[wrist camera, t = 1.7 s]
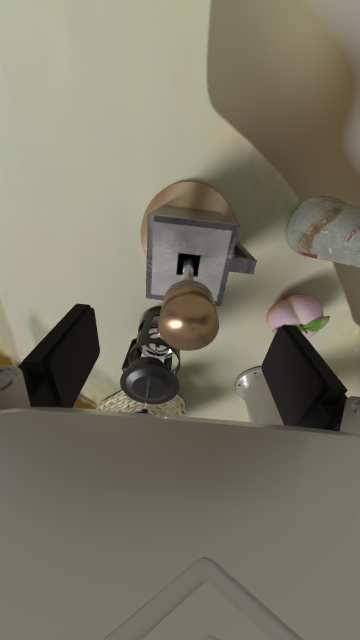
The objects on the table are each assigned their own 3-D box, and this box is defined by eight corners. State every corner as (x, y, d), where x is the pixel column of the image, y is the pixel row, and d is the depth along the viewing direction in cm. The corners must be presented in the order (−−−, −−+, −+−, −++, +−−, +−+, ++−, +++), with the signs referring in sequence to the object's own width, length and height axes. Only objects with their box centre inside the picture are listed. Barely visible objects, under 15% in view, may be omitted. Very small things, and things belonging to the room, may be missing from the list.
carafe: (240, 214, 33) (273, 229, 20) (228, 269, 38) (248, 309, 25) (163, 205, 33) (147, 214, 20) (160, 261, 37) (146, 298, 25)
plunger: (215, 226, 27) (257, 282, 11) (207, 273, 30) (229, 370, 14) (166, 221, 27) (133, 268, 11) (163, 269, 30) (135, 361, 14)
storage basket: (157, 367, 53) (148, 422, 40) (192, 401, 60) (194, 458, 47) (94, 400, 61) (69, 455, 48) (131, 427, 68) (118, 481, 55)
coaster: (246, 188, 32) (247, 188, 31) (223, 285, 40) (224, 286, 40) (142, 175, 31) (141, 175, 31) (141, 276, 40) (140, 277, 39)
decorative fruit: (266, 329, 45) (284, 361, 37) (255, 299, 42) (272, 327, 33) (311, 312, 43) (342, 342, 34) (303, 278, 39) (335, 303, 31)
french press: (173, 298, 42) (161, 390, 23) (192, 332, 47) (195, 435, 27) (125, 318, 45) (78, 416, 26) (147, 349, 50) (121, 452, 30)
